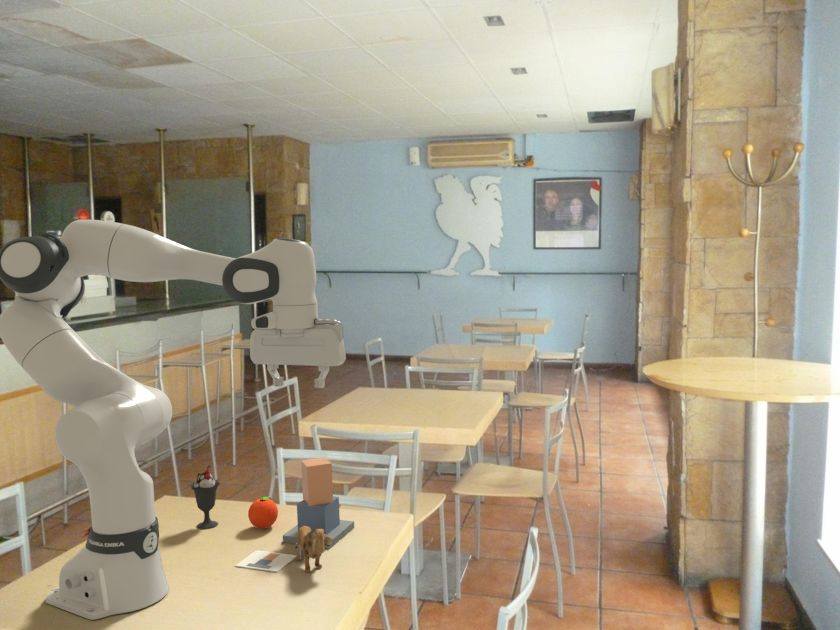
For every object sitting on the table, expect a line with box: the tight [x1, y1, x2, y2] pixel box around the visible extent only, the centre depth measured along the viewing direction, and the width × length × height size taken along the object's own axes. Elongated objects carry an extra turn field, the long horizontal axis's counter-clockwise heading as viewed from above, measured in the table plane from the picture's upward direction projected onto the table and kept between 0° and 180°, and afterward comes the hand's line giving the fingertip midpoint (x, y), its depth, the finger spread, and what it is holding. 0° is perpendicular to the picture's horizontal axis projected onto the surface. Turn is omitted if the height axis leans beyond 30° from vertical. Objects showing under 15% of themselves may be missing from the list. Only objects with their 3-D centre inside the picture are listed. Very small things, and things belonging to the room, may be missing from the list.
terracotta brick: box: [300, 456, 334, 506], centre depth 162 cm, size 6×6×9 cm
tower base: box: [282, 495, 355, 548], centre depth 162 cm, size 12×12×8 cm
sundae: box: [190, 464, 221, 530], centre depth 170 cm, size 7×7×15 cm
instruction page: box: [235, 549, 297, 573], centre depth 149 cm, size 10×8×1 cm
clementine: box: [247, 496, 279, 529], centre depth 168 cm, size 8×7×7 cm
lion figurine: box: [294, 526, 333, 573], centre depth 147 cm, size 15×5×9 cm, turn 33°
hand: (298, 386), depth 144 cm, fingers open, 8 cm apart
